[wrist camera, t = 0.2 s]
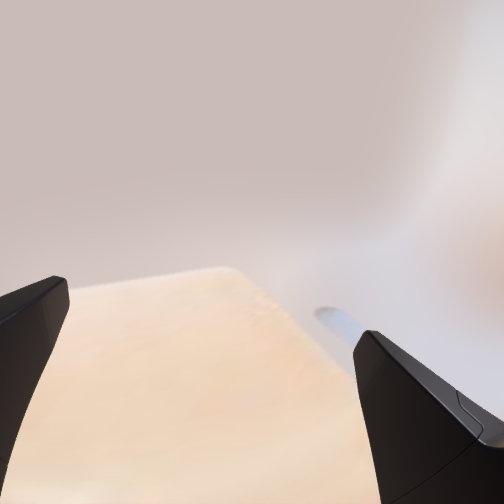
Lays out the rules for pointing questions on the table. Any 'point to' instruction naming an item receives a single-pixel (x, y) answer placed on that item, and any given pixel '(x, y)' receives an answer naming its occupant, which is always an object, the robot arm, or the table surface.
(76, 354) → the table surface
